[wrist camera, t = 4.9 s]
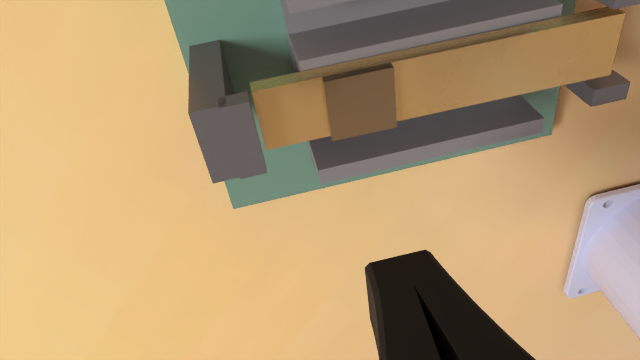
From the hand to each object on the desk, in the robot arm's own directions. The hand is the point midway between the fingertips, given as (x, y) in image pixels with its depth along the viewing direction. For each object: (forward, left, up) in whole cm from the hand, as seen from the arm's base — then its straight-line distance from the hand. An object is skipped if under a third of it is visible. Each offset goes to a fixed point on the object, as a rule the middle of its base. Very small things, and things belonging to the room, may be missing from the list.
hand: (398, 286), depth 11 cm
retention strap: (-3, -1, -6) cm, 7 cm away
